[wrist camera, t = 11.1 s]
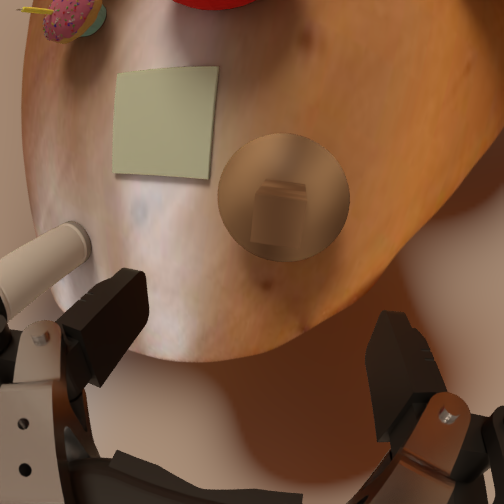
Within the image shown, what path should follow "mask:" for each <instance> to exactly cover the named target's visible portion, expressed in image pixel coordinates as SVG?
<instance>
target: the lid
mask: <svg viewBox="0 0 504 504" xmlns="http://www.w3.org/2000/svg"><path fill="white" fill-rule="evenodd" d="M349 204H350V193H349V187H348V183H347V179H346V176H345V174H344V172H343V170H342V168H341V166H340V165H339V163H338V161H337V160H336V159H335V158H334V157H333V155H332V154H331V153H330V152H329V151H327V150H326V149H325V148H324V147H322V146H321V145H320V144H318V143H316V142H314V141H312V140H311V139H308V138H306V137H303V136H299V135H295V134H285V133H279V134H270V135H266V136H262V137H259V138H257V139H254V140H252V141H251V142H249V143H247V144H246V145H244V146H243V147H241V148H240V149H239V150H238V151H237V152H236V153H235V154H234V155H233V156H232V157H231V159H230V160H229V161H228V163H227V164H226V166H225V168H224V170H223V172H222V175H221V178H220V181H219V186H218V207H219V211H220V215H221V218H222V220H223V223H224V225H225V227H226V229H227V230H228V232H229V233H230V235H231V236H232V237H233V238H234V239H235V241H236V242H237V243H238V244H240V245H241V246H242V247H243V248H244V249H246V250H247V251H249V252H251V253H252V254H254V255H256V256H258V257H261V258H264V259H267V260H272V261H278V262H293V261H299V260H303V259H306V258H309V257H311V256H314V255H316V254H318V253H319V252H321V251H322V250H324V249H325V248H326V247H328V246H329V245H330V244H331V243H332V242H333V241H334V240H335V239H336V237H337V236H338V235H339V233H340V232H341V230H342V228H343V226H344V224H345V222H346V219H347V215H348V212H349Z"/></svg>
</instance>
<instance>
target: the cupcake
mask: <svg viewBox="0 0 504 504" xmlns="http://www.w3.org/2000/svg"><path fill="white" fill-rule="evenodd" d="M16 10H21V12H28V13H39V14H46V15H45V18H44V22H43V25H44V27H43V28H44V29H43V30H44V32H45V34H44V36H46V37H47V40H49V41H50V40H52V41H54V42H56V43H62V44H66V43H69V42H71V41H73V40H74V39H76V38H78V37H82V36H89V35H91V34H93V33H95V32H96V31H97V30H98V29H99V28H100V27H101V26H102V24H103V22H104V20H105V18H106V9H105V7H104V6H103V5H102V0H53V2H52V4H51V5H50V7H49V8H48V9H42V8H33V7H23V8H22V9H16Z"/></svg>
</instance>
